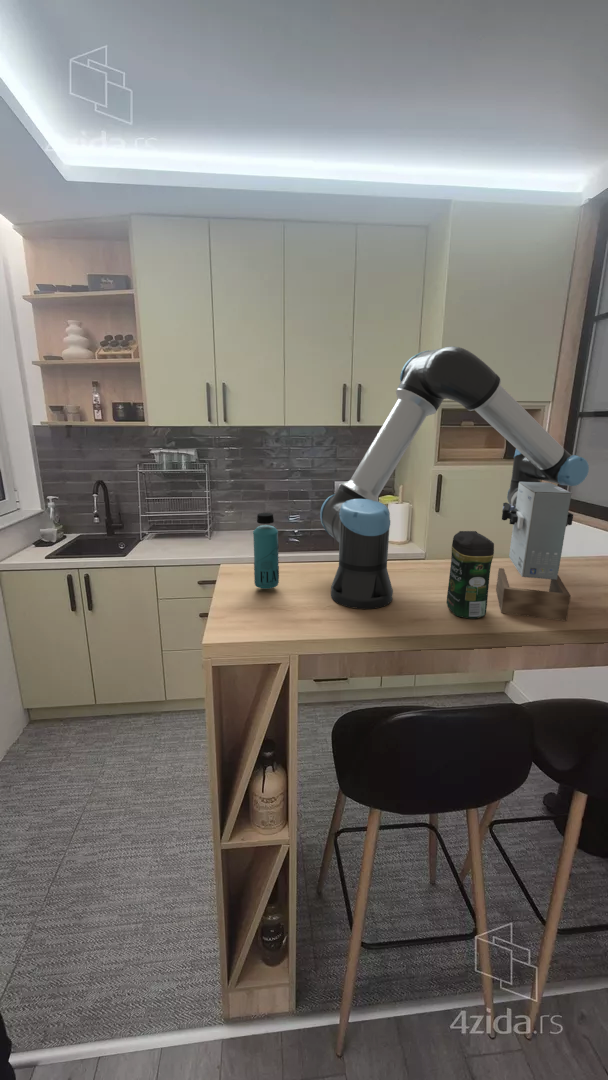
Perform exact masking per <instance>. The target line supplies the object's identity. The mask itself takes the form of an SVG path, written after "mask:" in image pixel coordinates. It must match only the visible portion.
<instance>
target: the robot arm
mask: <svg viewBox="0 0 608 1080" xmlns="http://www.w3.org/2000/svg"><path fill="white" fill-rule="evenodd" d="M399 380H400V383H399V385H398V386H397V389H396V390H395V393H396V398H397V400H396V402H395V403H394V405H393V407H392V408H391V410H390V411H389V413H388V415H387V417H386V418H385V420H384V422H383V424H382V425H381V427H380V429H379V430H378V431H377V434H376V435H375V437H374V439H373V441H372V443H371V444H370V445H369V448H368V449H367V451H366V452H365V454H364V455H363V458H362V459H361V461H360V463H359V465H358V466H357V467H356V469H355V471H354V473H353V474H352V476H351V478H350V479H349V480H347V481H345V482H341V484H340V485H339V486H338V488H337V490H336V492H335V493H334V494H332V495H330V496H328V497H327V498H326V499H325V500H324V501H323V503H322V505H321V508H320V510H319V511H320V513H319V517H320V523H321V525H322V527H323V529H324V531H325V532H326V533H327V534H328V535H329V536H330V537H332V538H333V539H334V540H335V541H336V542H338V543H339V544H338V545H339V547H338V549H339V550H338V567H337V569H336V573H335V574H334V577H333V581H332V583H331V586H330V598H331V599H332V600H333V601H334V602H335V603H337V604H339V605H341V606H344V607H348V608H352V609H357V610H358V609H362V610H368V609H370V610H371V609H378V608H382V607H385V606H388V605H389V604H390V603H391V602H392V601H393V594H394V593H393V592H394V591H393V587H392V583H391V579H390V575H389V571H388V555H389V554H388V553H389V540H390V539H389V538H390V527H391V518H390V517H391V516H390V515H391V514H390V510H389V508H388V507H387V505H385V504H384V503H383V502H379V496H380V494H381V493H382V490H384V487H385V486H386V484H387V483H388V481H389V479H390V477H391V476H392V474H393V473H394V471H395V469H396V467H397V466H398V464H399V463H400V461H401V459H402V458H403V455H404V454H405V453H406V452H407V450H408V448H409V446H410V445H411V443H412V441H413V440H414V438H415V436H416V435H417V433H418V431H419V430H420V428H421V426H423V423H424V422H425V420H426V418H427V417H428V416H431V415H434V414H436V413H437V411H438V410H439V408H440V406H441V405H442V403H443V401H444V400H445V399H447V400H451V401H454V402H456V403H458V404H460V405H461V406H463V408H465V409H466V410H467V411H469V412H471V411H475V412H476V413H477V414H478V415H479V416H480V417H481V418H482V419H484V421H486V422H487V423H488V424H489V425H490V426H491V427H492V428H494V430H496V431H497V432H498V433H499V434H500V435H501V436H502V437H503V438H504V439H505V440H506V441H508V442H509V444H511V445H512V446H513V447H514V449H515V452H514V455H513V463H512V472H511V480H510V483H509V485H510V486H509V489H508V491H507V494H506V495H507V497H506V499H507V502H503V503H502V505H503V506H502V511H501V512H502V513H501V521H507V520H508V519H509V525H513V524H515V523H516V525H517V527H518V529H522V527H523V520H524V517H523V515H522V514H521V512H519V511H518V510H517V509H515V508H516V500H517V493H518V485H519V482H541V481H543V482H544V481H545V482H547V483H552V484H555V485H556V484H558V485H560V486H568V487H575V486H576V487H577V486H579V485H580V484H582V483H583V482H584V481H585V480H586V479H587V477H588V475H589V471H590V467H589V466H590V465H589V463H588V461H587V459H585V458H584V457H582V456H579V455H577V454H573V455H572V454H570V453H569V452H568V451H567V450H566V449H565V448H564V447H563V446H562V445H561V444H560V443H559V442H558V441H557V440H556V439H555V438H554V437H553V436H552V435H551V434H550V433H549V432H548V431H547V430H546V429H545V428H544V427H543V426H542V425H541V424H540V423H539V422H538V421H537V420H536V419H535V418H534V417H533V416H532V414H530V413H529V412H528V411H527V410H526V409H525V408H524V407H523V406H522V405H521V404H520V403H519V402H518V401H517V400H516V399H515V398H514V397H513V396H512V395H511V394H510V393H509V392H508V391H507V390H506V389H505V388H504V387H503V386H502V385H501V383H502V381H501V380H502V379H501V377H500V376H499V375H498V374H497V373H496V372H495V371H494V370H493V369H492V368H491V367H490V366H489V365H488V364H487V363H485V362H484V360H482V359H480V357H478V356H477V355H475V354H474V353H472V352H471V351H469V350H467V349H465V348H463V347H460V346H454V345H453V346H451V345H450V346H445V347H444V346H443V347H442V348H436V349H432V350H431V349H430V350H429V349H428V350H424V351H420V352H419V353H416V354H415V355H413V356H412V357H410V358H409V359H408V360H406V362H405V364H404V365H403V367H402V368H401V372H400V376H399ZM573 520H574V514H573V513H571V512H569V511H568V517H567V523H566V527H568V526H571V525H572V524H573Z"/></svg>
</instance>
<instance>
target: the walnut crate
mask: <svg viewBox="0 0 608 1080" xmlns="http://www.w3.org/2000/svg"><path fill="white" fill-rule="evenodd" d="M495 587H496V588H495V592H496V596H497V600H498V604H499V610H500V613H501V614H507V615H508V614H509V615H515V616H516V615H517V616H525V617H531V618H541V619H547V620H557V621H563V622H566V621H567V619H568V613H569V607H570V603H571V597H572V596H571V593H570V592H569V591H568V589H567V587H566V586H565V584H564V582H563V581H562V579H561V577H560V576H559V575H558V577H557V579H556V580H554V579H550V583H549V589H548V590H547V591H545V590H539V589H537V590H536V589H531V588H529V589H528V588H518V587H511V586H510V584H509V580H508V578H507V574H506V572H505V569H504V568H503V567H501V568H500V567H499V568H498V572H497V580H496V586H495Z"/></svg>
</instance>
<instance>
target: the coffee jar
mask: <svg viewBox="0 0 608 1080" xmlns="http://www.w3.org/2000/svg"><path fill="white" fill-rule="evenodd" d="M451 543H452V544H451V559H450V569H449V577H448V585H447V586H448V587H447V594H446V605H447V607H448V608H449V610H450V612H452V613H453V614H454V616H456V617H459V618H460V617H461V618H465V619H468V620H469V619H470V620H473V619H475V620H476V619H478V618H479V619H480V618H483V617H485V616H486V614H487V607H488V596H489V585H490V576H491V575H490V574H491V567H492V562H493V559H494V554H495V543H494V542H493V541H492V540H490V539H489V538H487V537H486V536H485V535H483V534H481V533H479V532H477V530H459V531H458V532H457V533H455V534H454V536H453V538H452V542H451Z"/></svg>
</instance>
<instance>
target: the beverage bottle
mask: <svg viewBox="0 0 608 1080" xmlns="http://www.w3.org/2000/svg"><path fill="white" fill-rule="evenodd" d="M256 515H257V519H256V523H258V524H261V525H259V526H256V528H255V529H253V531H252V534H253V536H252V537H253V567H254V568H253V579H254V580H253V582H254V586H256V587H257V588H259V589H265V590H266V589H274V588H276V587H277V586H279V583H280V566H279V565H280V562H279V559H280V557H279V549H280V547H279V530H278V529H277V528H276V527H275V526H274V525H269V524H273V523H274V522H275V519H274V513H271V512H260V513H258V514H256Z"/></svg>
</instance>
